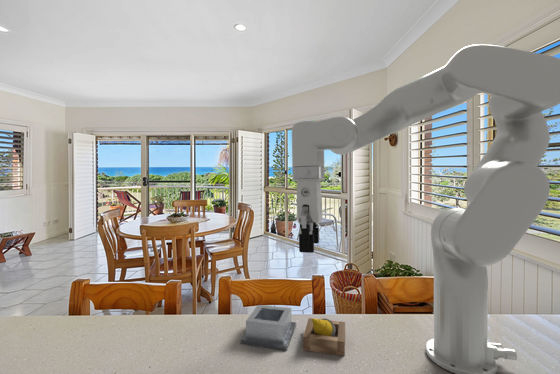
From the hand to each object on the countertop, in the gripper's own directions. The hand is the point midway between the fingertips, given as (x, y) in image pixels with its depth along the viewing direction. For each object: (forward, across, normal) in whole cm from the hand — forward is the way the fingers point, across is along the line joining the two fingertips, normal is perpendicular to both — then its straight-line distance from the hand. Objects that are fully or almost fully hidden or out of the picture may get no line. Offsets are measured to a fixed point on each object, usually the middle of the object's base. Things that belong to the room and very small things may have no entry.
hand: (309, 247), depth 67 cm
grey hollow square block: (+22, 0, +10) cm, 24 cm away
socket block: (+22, 0, -3) cm, 22 cm away
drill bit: (+22, -1, -3) cm, 22 cm away
